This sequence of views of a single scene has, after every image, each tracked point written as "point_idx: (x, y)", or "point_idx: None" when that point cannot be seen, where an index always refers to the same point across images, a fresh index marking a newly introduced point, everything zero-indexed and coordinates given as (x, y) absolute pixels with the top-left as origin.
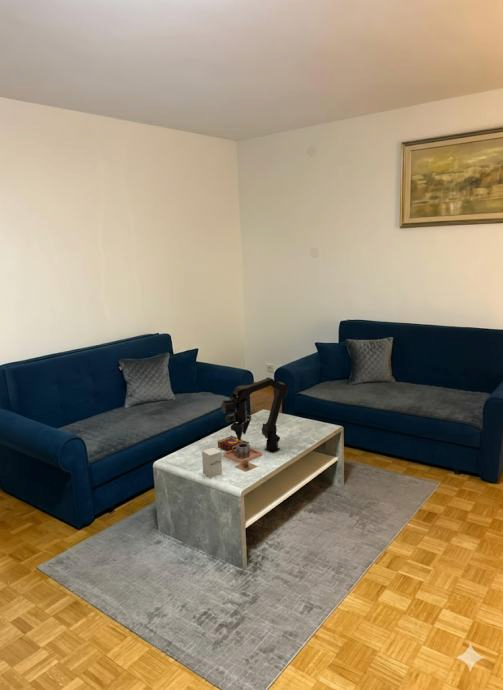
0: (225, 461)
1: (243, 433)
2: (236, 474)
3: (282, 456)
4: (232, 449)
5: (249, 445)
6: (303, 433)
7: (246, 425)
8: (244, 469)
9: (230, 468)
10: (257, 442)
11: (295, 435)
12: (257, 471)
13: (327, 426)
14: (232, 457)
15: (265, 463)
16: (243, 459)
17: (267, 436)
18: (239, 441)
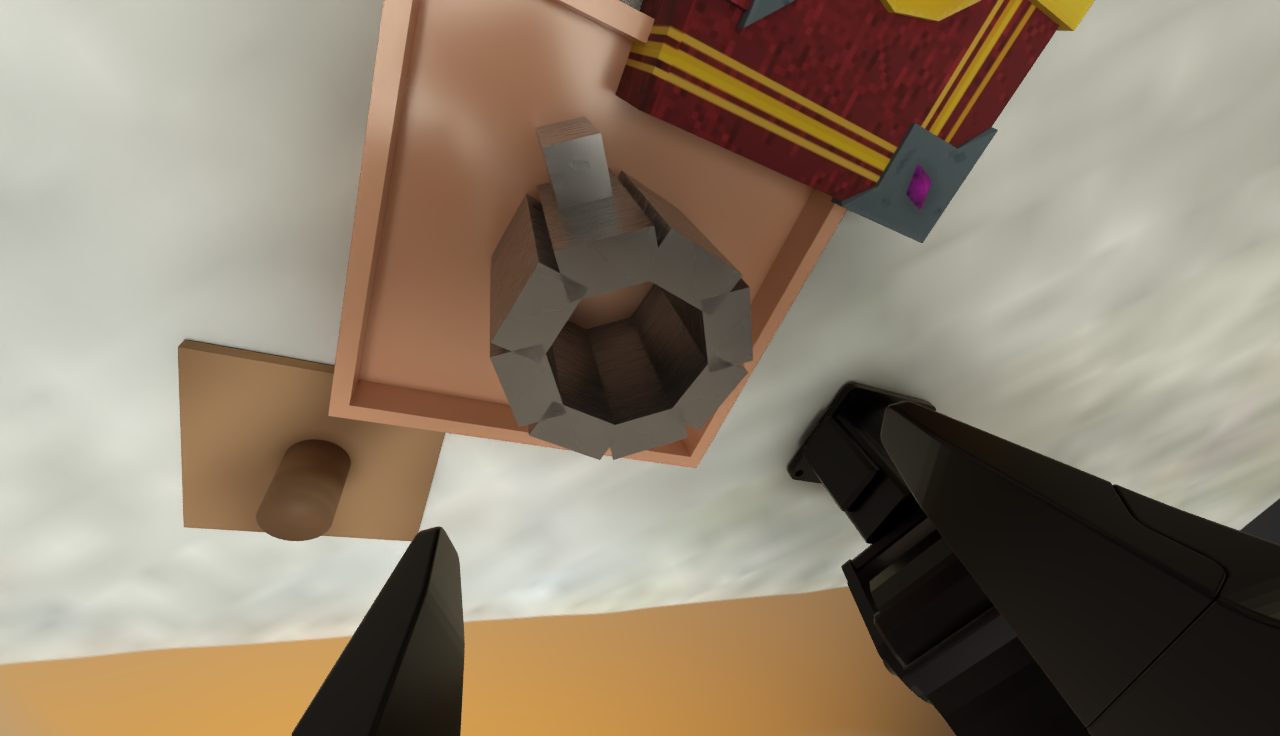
0: (265, 75)
1: (894, 413)
2: (43, 466)
3: (731, 553)
4: (651, 41)
5: (670, 441)
6: (1172, 461)
7: (1106, 697)
8: (231, 487)
9: (113, 307)
10: (1055, 208)
11: (1149, 436)
12: (327, 570)
13: (1241, 513)
14: (355, 217)
15: (538, 533)
16: (482, 338)
17: (875, 625)
18: (970, 45)
